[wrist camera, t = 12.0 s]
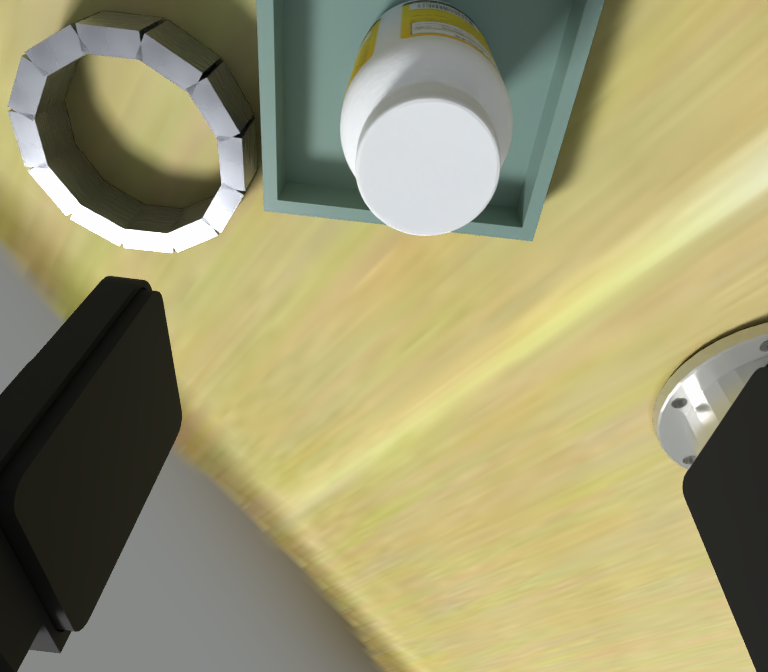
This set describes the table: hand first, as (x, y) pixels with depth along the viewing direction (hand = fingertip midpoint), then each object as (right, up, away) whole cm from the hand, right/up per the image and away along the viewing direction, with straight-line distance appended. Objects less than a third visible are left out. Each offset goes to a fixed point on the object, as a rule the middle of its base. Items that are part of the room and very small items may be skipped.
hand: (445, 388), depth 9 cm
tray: (0, +12, +14) cm, 18 cm away
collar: (-11, +10, +16) cm, 22 cm away
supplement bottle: (+1, +12, +14) cm, 18 cm away
